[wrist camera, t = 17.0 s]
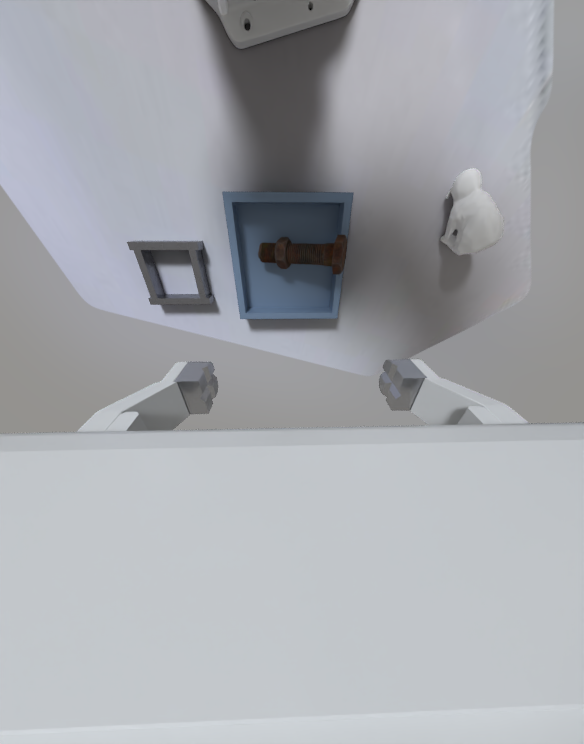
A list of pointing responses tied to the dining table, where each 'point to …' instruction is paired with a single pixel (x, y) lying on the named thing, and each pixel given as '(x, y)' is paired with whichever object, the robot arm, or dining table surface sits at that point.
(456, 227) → the white figurine
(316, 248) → the bolt
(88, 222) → the dining table surface
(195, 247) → the bracket
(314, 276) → the tray
